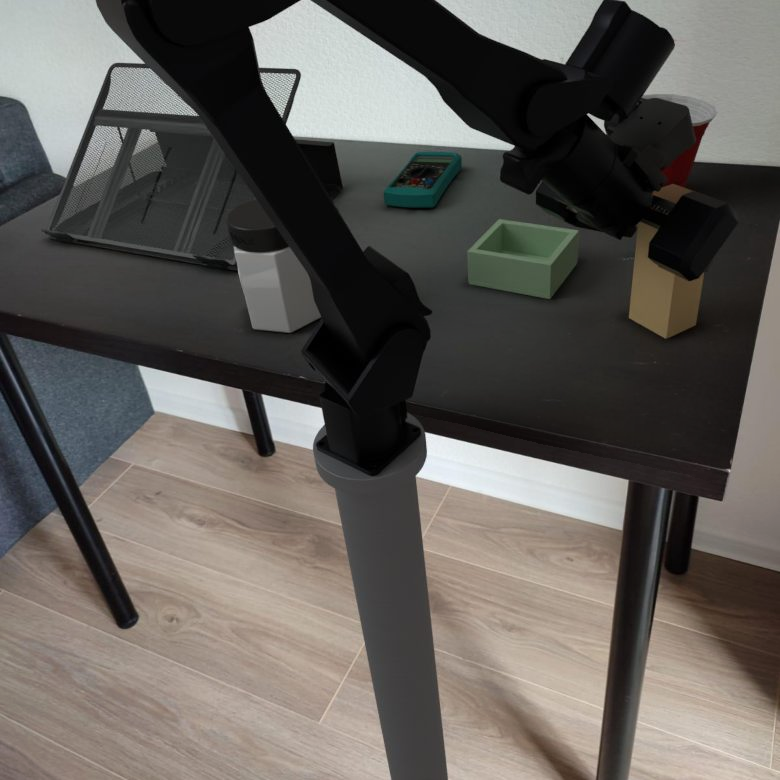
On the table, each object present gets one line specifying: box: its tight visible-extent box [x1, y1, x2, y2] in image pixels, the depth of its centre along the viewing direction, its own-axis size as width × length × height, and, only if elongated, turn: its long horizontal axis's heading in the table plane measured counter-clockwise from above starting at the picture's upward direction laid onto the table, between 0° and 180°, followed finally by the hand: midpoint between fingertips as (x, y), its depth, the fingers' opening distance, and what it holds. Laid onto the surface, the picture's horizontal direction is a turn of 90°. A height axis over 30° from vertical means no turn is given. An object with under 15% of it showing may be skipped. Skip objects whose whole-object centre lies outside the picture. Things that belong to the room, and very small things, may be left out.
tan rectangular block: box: [628, 184, 705, 340], centre depth 73 cm, size 4×5×13 cm
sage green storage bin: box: [466, 218, 580, 300], centre depth 86 cm, size 9×10×4 cm
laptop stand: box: [40, 62, 344, 272], centre depth 105 cm, size 33×28×18 cm
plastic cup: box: [642, 93, 718, 188], centre depth 96 cm, size 11×11×12 cm
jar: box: [226, 199, 322, 334], centre depth 82 cm, size 9×8×12 cm
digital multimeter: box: [382, 151, 463, 209], centre depth 109 cm, size 7×15×3 cm, turn 160°
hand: (669, 249), depth 72 cm, fingers open, 9 cm apart
